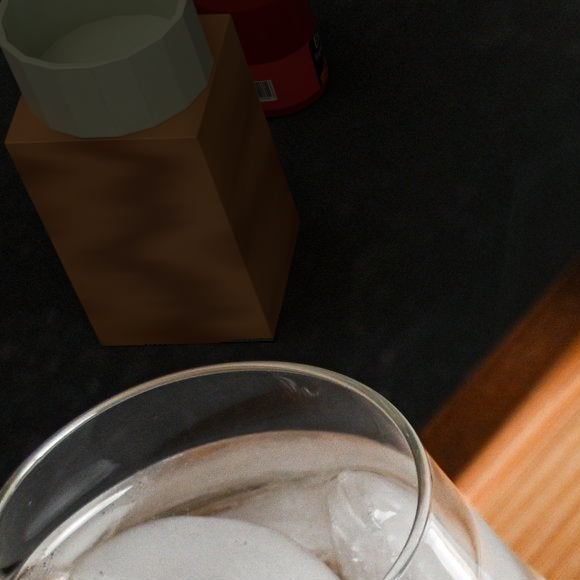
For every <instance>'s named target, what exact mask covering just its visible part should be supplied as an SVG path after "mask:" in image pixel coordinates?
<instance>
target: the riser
mask: <svg viewBox="0 0 580 580" xmlns="http://www.w3.org/2000/svg"><path fill="white" fill-rule="evenodd" d="M198 17H199V20H200V23H201V26H202V29H203V31H204V34H205V37H206V40H207V43H208V45H209V48H210V51H211V54H212V57H213V60H214V63H213V67H212V71H211V74H210V78H209V82H208V85H207V86H206V88H205V89H204V90H203V91H202V92H201V93H200V94H199V95H198V97H197V98H196V99H195V100H194V101H193V102H192V103H191V104H190V106H189V107H188V108H187V109H185V110H183V111H182V112H180V113H178V114H176V115H175V116H173V117H171V118H170V119H168V120H166V121H165V122H163V123H161V124H159V125H158V126H155V127H152V128H149V129H145V130H142V131H138V132H135V133H131V134H128V135H124V136H121V137H102V138H80V137H76V136H73V135H69V134H65V133H62V132H58V131H54V130H52V129H50V128H49V127H47V126H46V125H45V124H44V123H43V122H41V121H40V120H39V119H38V118H37V117H35V116H34V115H33V114H32V113H31V112H30V110H29V108H28V105H27V103H26V101H25V99H24V97H23V95H22V93H21V94H20V96H19V100H18V102H17V105H16V108H15V112H14V113H13V117H12V120H11V122H10V126H9V127H8V130H7V134H6V136H5V139H4V146H5V148H6V150H7V152H8V154H9V156H10V158H11V161H12V162H13V165H14V167H15V168H16V171H17V173H18V175H19V177H20V179H21V181H22V183H23V186H24V187H25V190H26V192H27V193H28V196H29V198H30V199H31V201H32V204H33V206H34V209H35V210H36V212H37V214H38V217H39V219H40V220H41V223H42V225H43V227H44V229H45V231H46V233H47V235H48V237H49V239H50V241H51V243H52V246H53V248H54V250H55V252H56V254H57V256H58V258H59V260H60V263H61V264H62V267H63V268H64V270H65V273H66V275H67V277H68V279H69V281H70V283H71V285H72V287H73V289H74V292H75V294H76V295H77V298H78V300H79V302H80V304H81V307H82V308H83V310H84V312H85V314H86V316H87V319H88V321H89V323H90V325H91V327H92V329H93V330H94V332H95V335H96V337H97V340H98V341H99V343H100V345H101V347H125V346H126V347H127V346H128V347H129V346H165V345H164V344H166V346H167V345H169V344H171V345H203V344H204V345H206V344H207V345H208V344H209V345H210V344H222V343H221V342H226V341H232V340H236V339H244V338H245V339H249V338H250V339H257V338H265V339H266V338H273V337H274V334H275V329H276V326H277V322H278V319H279V320H280V317H279V314H280V315H281V313H280V311H281V312H282V308H283V304H282V302H283V303H284V298H285V294H286V289H287V286H288V281H289V276H290V271H291V267H292V262H293V257H294V253H295V249H296V244H297V241H298V235H299V230H300V226H301V223H302V221H301V219H300V216H299V213H298V210H297V207H296V204H295V200H294V198H293V195H292V191H291V189H290V185H289V184H288V183H289V182H288V180H287V177H286V175H285V171H284V168H283V165H282V162H281V160H280V156H279V154H278V150H277V148H276V144H275V142H274V138H273V136H272V132H271V130H270V127H269V124H268V120H267V117H265V115H264V112H263V109H262V106H261V103H260V100H259V97H258V94H257V91H256V88H255V85H254V82H253V79H252V76H251V73H250V70H249V67H248V64H247V61H246V59H245V56H244V53H243V50H242V47H241V44H240V41H239V38H238V35H237V32H236V29H235V26H234V23H233V20H232V17H231V14H209V15H198ZM281 307H282V308H281ZM278 323H279V322H278ZM277 327H278V326H277ZM145 344H147V345H145ZM150 344H151V345H150ZM154 344H156V345H154ZM159 344H161V345H159Z"/></svg>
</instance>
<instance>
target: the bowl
mask: <svg viewBox="0 0 580 580" xmlns="http://www.w3.org/2000/svg"><path fill="white" fill-rule="evenodd" d="M0 49H1V52H2V53H3V56H4V58H5V59H6V63H7V64H8V66H9V69H10V70H11V72H12V76H13V77H14V79H15V81H16V83H17V86H18V89H19V90H20V92H21V94H22V95H23V97H24V99H25V101H26V103H27V105H28V108H29V110H30V112H31V113H32V114H33V115H34V116H35V117H37V118H38V119H39V120H40V121H41V122H43V123H44V124H45V125H46V126H47V127H49V128H50V129H52V130H54V131H58V132H62V133H65V134H69V135H73V136H76V137H80V138H102V137H121V136H124V135H128V134H131V133H135V132H138V131H142V130H145V129H149V128H152V127H155V126H158V125H159V124H161V123H163V122H165V121H166V120H168V119H170V118H171V117H173V116H175V115H176V114H178V113H180V112H182V111H183V110H185V109H187V108H188V107H189V106H190V104H191V103H192V102H193V101H194V100H195V99H196V98H197V97H198V95H199V94H200V93H201V92H202V91H203V90H204V89H205V88H206V86H207V85H208V82H209V78H210V74H211V71H212V67H213V63H214V60H213V57H212V54H211V51H210V48H209V45H208V43H207V40H206V37H205V34H204V31H203V29H202V26H201V23H200V20H199V17H198V14H197V12H196V9H195V6H194V3H193V0H0Z"/></svg>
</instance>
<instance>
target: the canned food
mask: <svg viewBox="0 0 580 580" xmlns="http://www.w3.org/2000/svg"><path fill="white" fill-rule="evenodd" d="M193 3H194V6H195V9H196V12H197V14H198V15H209V14H231V17H232V20H233V23H234V26H235V29H236V32H237V35H238V38H239V41H240V44H241V47H242V50H243V53H244V56H245V59H246V61H247V64H248V67H249V70H250V73H251V76H252V79H253V82H254V85H255V88H256V91H257V94H258V97H259V100H260V103H261V106H262V109H263V112H264V115H265V118H279V117H280V118H281V117H285V116H289V115H292V114H295V113H298V112H300V111H302V110H304V109H306V108H308V107H309V106H311V105H313V104H314V103H315V102H316V101H318V99H319V98H320V97H321V96H322V95H323V94H324V92H325V90H326V89H327V87H328V81H329V67H328V62H327V59H326V56H325V52H324V48H323V44H322V41H321V38H320V34H319V31H318V28H317V24H316V21H315V17H314V14H313V11H312V7H311V4H310V0H193Z"/></svg>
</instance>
